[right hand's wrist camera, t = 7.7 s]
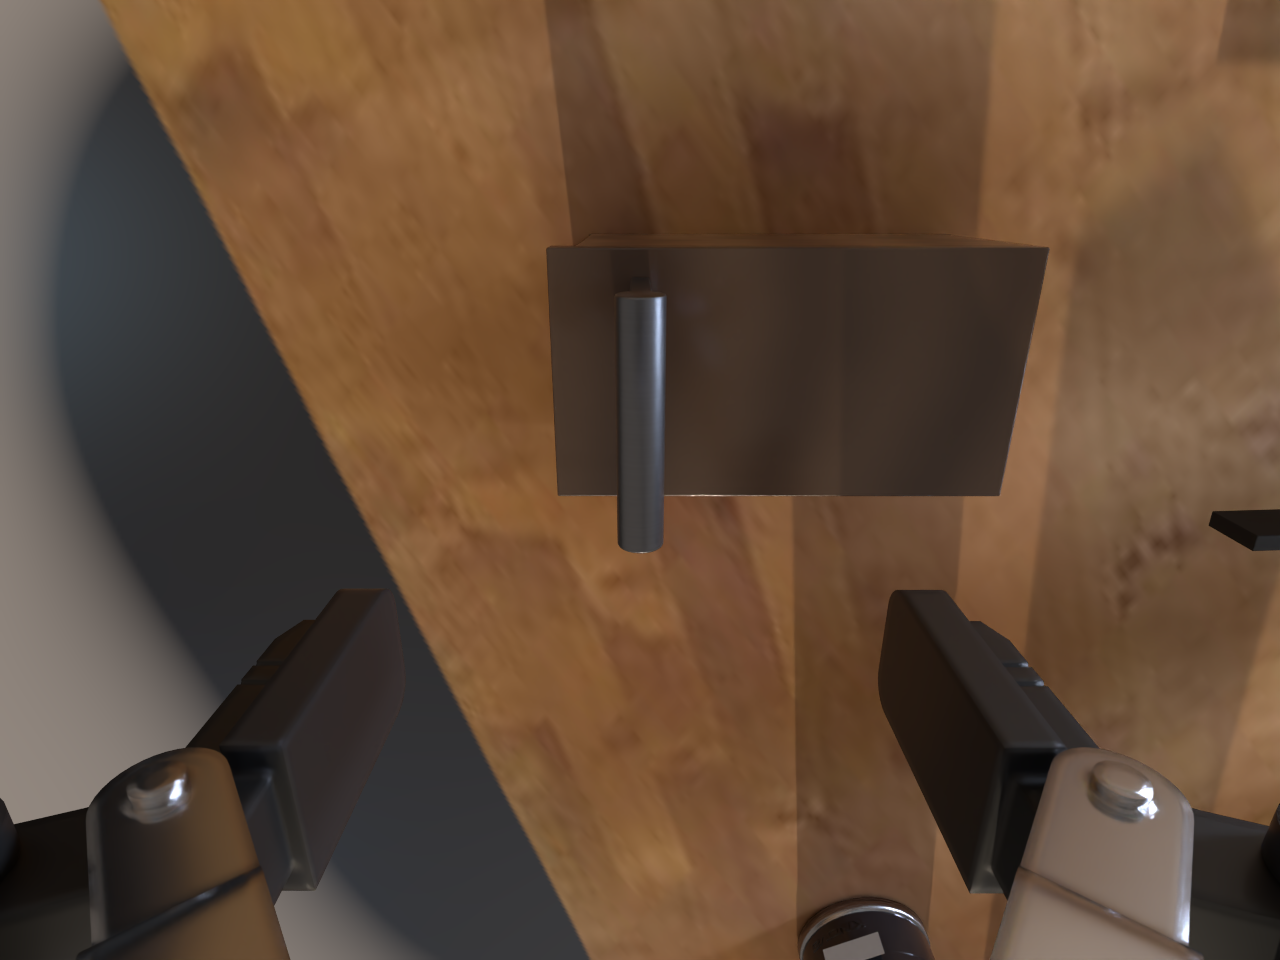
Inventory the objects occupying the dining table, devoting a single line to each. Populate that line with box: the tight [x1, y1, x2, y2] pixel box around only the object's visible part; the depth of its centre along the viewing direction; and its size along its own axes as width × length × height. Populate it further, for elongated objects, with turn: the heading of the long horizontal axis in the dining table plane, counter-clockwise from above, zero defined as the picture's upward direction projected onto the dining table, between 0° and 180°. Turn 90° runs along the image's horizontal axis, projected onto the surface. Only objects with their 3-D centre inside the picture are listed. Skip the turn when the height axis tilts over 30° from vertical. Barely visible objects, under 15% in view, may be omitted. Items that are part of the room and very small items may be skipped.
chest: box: [577, 234, 1033, 246], centre depth 33 cm, size 17×10×9 cm, turn 90°
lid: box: [546, 246, 1049, 553], centre depth 25 cm, size 18×10×8 cm, turn 90°
